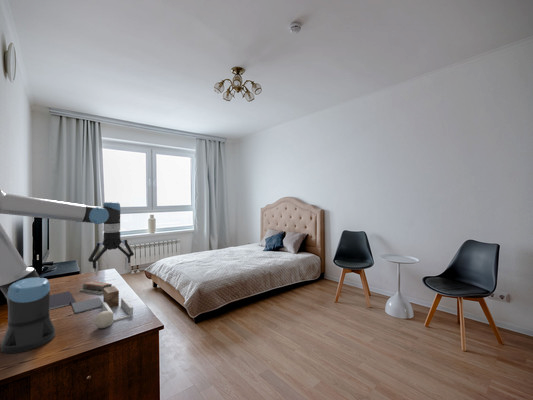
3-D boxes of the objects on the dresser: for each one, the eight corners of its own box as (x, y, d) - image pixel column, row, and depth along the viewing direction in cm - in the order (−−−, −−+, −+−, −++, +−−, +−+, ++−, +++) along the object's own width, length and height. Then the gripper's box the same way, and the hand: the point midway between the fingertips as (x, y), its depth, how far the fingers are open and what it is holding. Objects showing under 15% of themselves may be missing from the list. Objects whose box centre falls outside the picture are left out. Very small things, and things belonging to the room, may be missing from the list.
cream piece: (95, 325, 109) (95, 310, 109) (114, 322, 111) (114, 307, 111) (91, 332, 102) (91, 316, 102) (111, 329, 105) (111, 313, 105)
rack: (110, 322, 111) (110, 313, 111) (102, 310, 123) (102, 302, 123) (133, 316, 117) (133, 307, 117) (123, 305, 129) (123, 297, 129)
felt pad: (75, 313, 119) (75, 312, 119) (71, 304, 129) (71, 303, 129) (104, 306, 127) (104, 305, 127) (98, 298, 137) (98, 297, 137)
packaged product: (79, 283, 148) (95, 279, 158) (79, 291, 148) (95, 286, 158) (101, 287, 143) (116, 282, 152) (100, 295, 143) (116, 289, 152)
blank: (107, 308, 125) (107, 293, 125) (103, 302, 132) (103, 288, 132) (118, 306, 128) (118, 290, 128) (114, 300, 135) (114, 285, 135)
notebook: (40, 299, 136) (44, 312, 122) (40, 297, 136) (44, 309, 122) (69, 293, 146) (76, 304, 131) (69, 291, 146) (76, 301, 131)
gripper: (83, 234, 117) (83, 279, 117) (140, 230, 135) (140, 268, 135) (81, 233, 123) (81, 275, 123) (135, 228, 140) (135, 265, 140)
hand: (112, 272), depth 129 cm, fingers open, 13 cm apart
